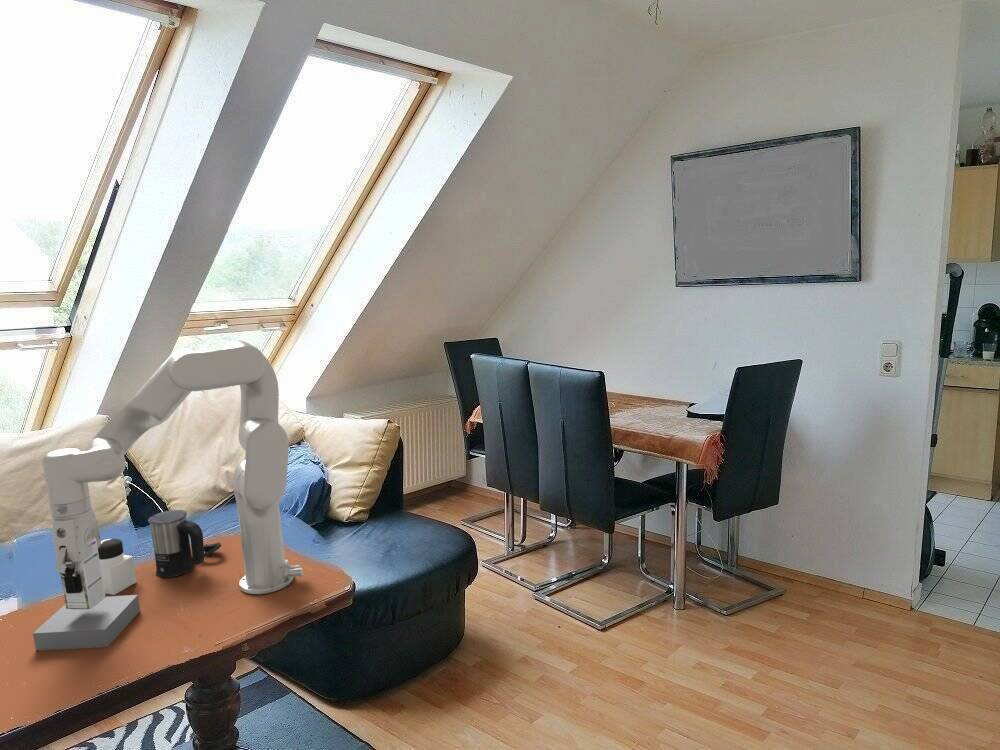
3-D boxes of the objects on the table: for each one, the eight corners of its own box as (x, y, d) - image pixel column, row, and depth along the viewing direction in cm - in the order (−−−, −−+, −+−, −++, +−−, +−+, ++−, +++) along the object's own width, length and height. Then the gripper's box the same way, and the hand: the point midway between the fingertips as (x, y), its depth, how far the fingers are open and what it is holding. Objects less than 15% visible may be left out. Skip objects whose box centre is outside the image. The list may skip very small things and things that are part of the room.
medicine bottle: (137, 582, 184) (130, 537, 182) (114, 595, 178) (107, 549, 175) (115, 579, 187) (108, 534, 184) (91, 592, 180) (84, 546, 178)
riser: (140, 610, 170) (137, 594, 169) (108, 646, 155) (105, 629, 154) (74, 614, 169) (71, 598, 169) (35, 650, 155) (32, 633, 154)
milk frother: (148, 578, 186) (141, 523, 183) (175, 552, 201) (169, 500, 199) (204, 576, 186) (198, 521, 183) (227, 550, 201) (221, 498, 199)
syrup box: (106, 597, 164) (97, 535, 161) (89, 610, 158) (79, 547, 155) (82, 597, 164) (72, 535, 161) (64, 610, 158) (54, 547, 156)
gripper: (66, 521, 148) (79, 603, 152) (108, 491, 165) (119, 566, 169) (28, 523, 148) (42, 605, 152) (74, 493, 165) (86, 568, 169)
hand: (83, 584), depth 160 cm, fingers closed on syrup box, 6 cm apart
